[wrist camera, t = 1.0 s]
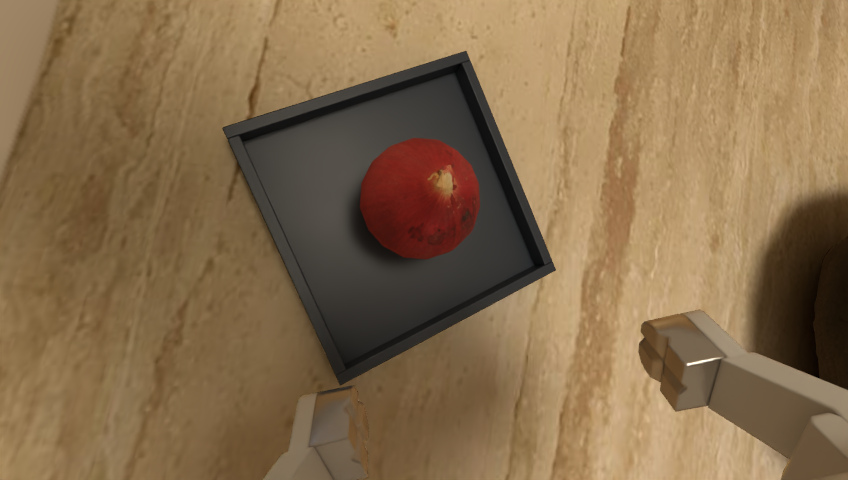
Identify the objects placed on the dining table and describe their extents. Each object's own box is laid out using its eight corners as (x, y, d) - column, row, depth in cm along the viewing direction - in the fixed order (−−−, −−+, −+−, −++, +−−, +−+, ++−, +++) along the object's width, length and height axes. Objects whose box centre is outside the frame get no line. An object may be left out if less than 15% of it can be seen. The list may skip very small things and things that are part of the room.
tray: (227, 137, 21) (221, 127, 20) (456, 63, 25) (466, 50, 24) (337, 376, 22) (340, 385, 21) (540, 269, 26) (556, 270, 25)
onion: (468, 213, 25) (542, 191, 17) (401, 280, 23) (449, 289, 16) (403, 139, 24) (451, 81, 16) (330, 204, 22) (344, 174, 15)
